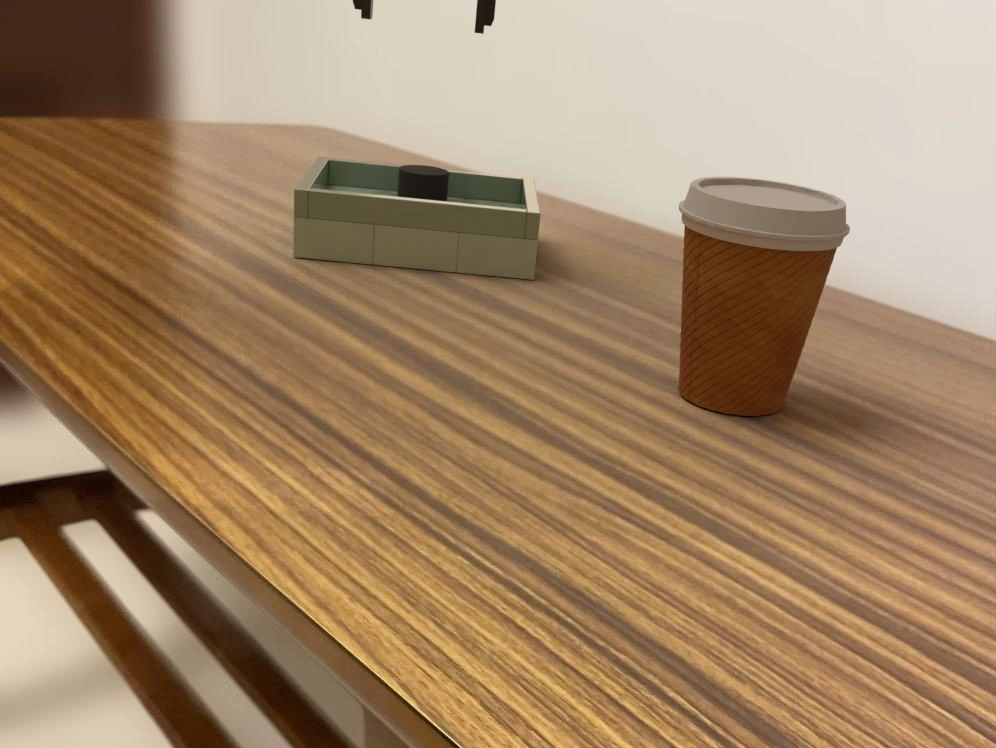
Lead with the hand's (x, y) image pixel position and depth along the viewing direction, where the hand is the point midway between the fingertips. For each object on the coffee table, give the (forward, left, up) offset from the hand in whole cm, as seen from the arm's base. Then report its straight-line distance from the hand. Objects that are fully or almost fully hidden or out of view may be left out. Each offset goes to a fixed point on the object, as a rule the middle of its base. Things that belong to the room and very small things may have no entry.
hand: (423, 25), depth 94 cm
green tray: (+1, -2, -16) cm, 16 cm away
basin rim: (+1, -2, -13) cm, 13 cm away
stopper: (+1, 0, -16) cm, 16 cm away
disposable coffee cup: (+21, -32, -16) cm, 42 cm away
